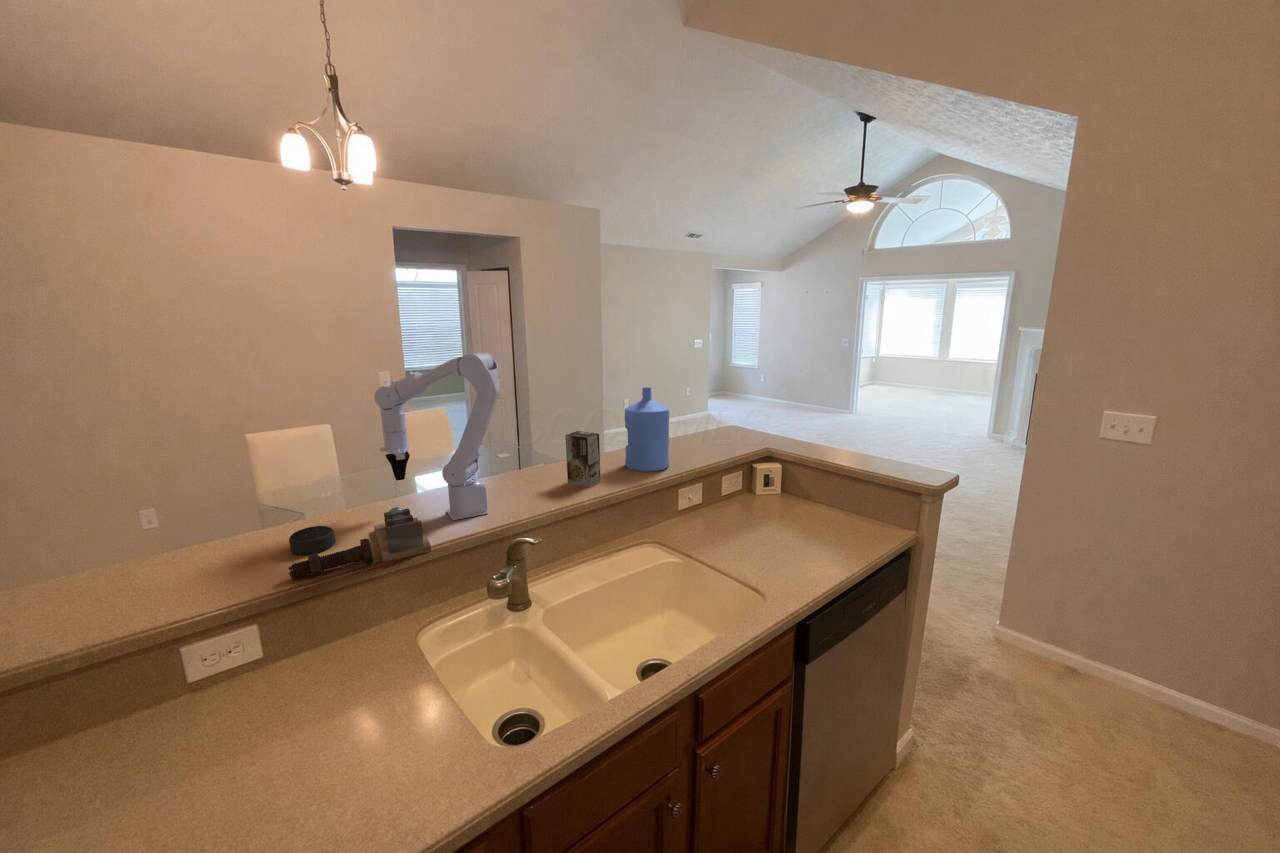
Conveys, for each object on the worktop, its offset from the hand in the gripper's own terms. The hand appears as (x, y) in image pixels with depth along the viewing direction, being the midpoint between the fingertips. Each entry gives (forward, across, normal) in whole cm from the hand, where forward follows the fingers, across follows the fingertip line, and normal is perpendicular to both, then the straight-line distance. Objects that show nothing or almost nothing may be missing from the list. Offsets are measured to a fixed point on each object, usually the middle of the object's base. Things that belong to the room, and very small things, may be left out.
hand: (400, 479), depth 141 cm
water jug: (+10, -2, +80) cm, 81 cm away
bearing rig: (+9, +20, -3) cm, 22 cm away
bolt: (+10, +28, -17) cm, 35 cm away
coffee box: (+10, +3, +53) cm, 54 cm away
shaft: (+7, +20, -3) cm, 22 cm away
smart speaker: (+10, +13, -21) cm, 27 cm away
